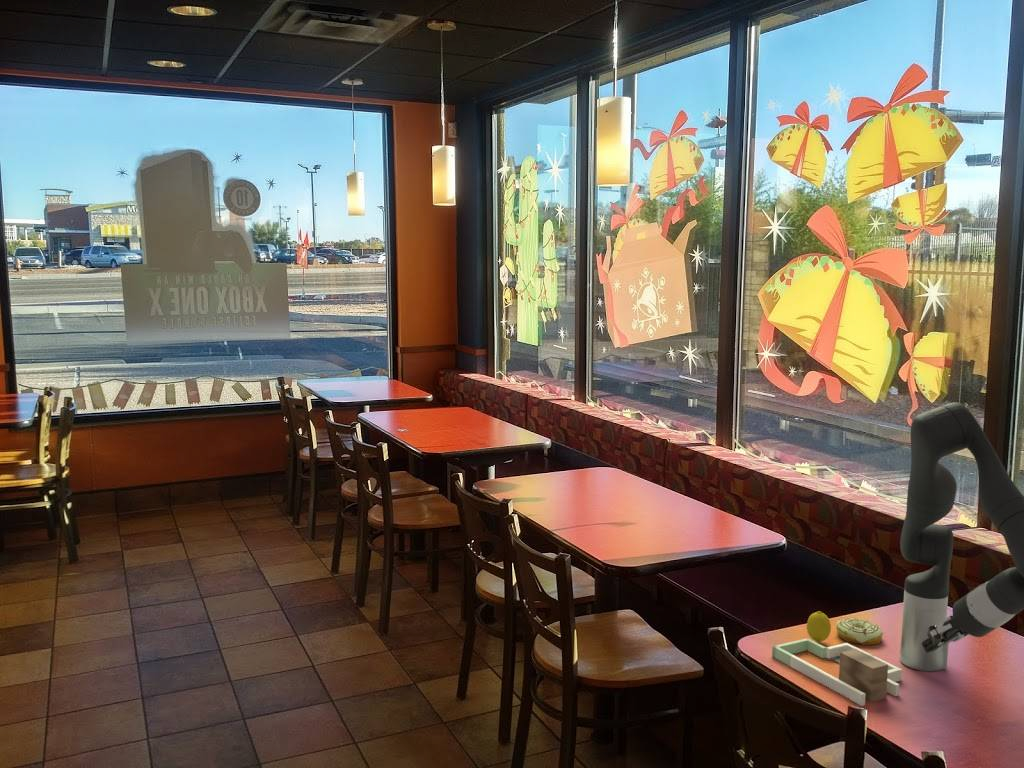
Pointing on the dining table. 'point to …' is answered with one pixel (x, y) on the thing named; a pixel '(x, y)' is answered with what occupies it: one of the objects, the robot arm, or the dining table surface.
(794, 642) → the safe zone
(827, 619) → the lemon
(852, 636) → the decorated donut
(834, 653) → the box
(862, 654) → the block
